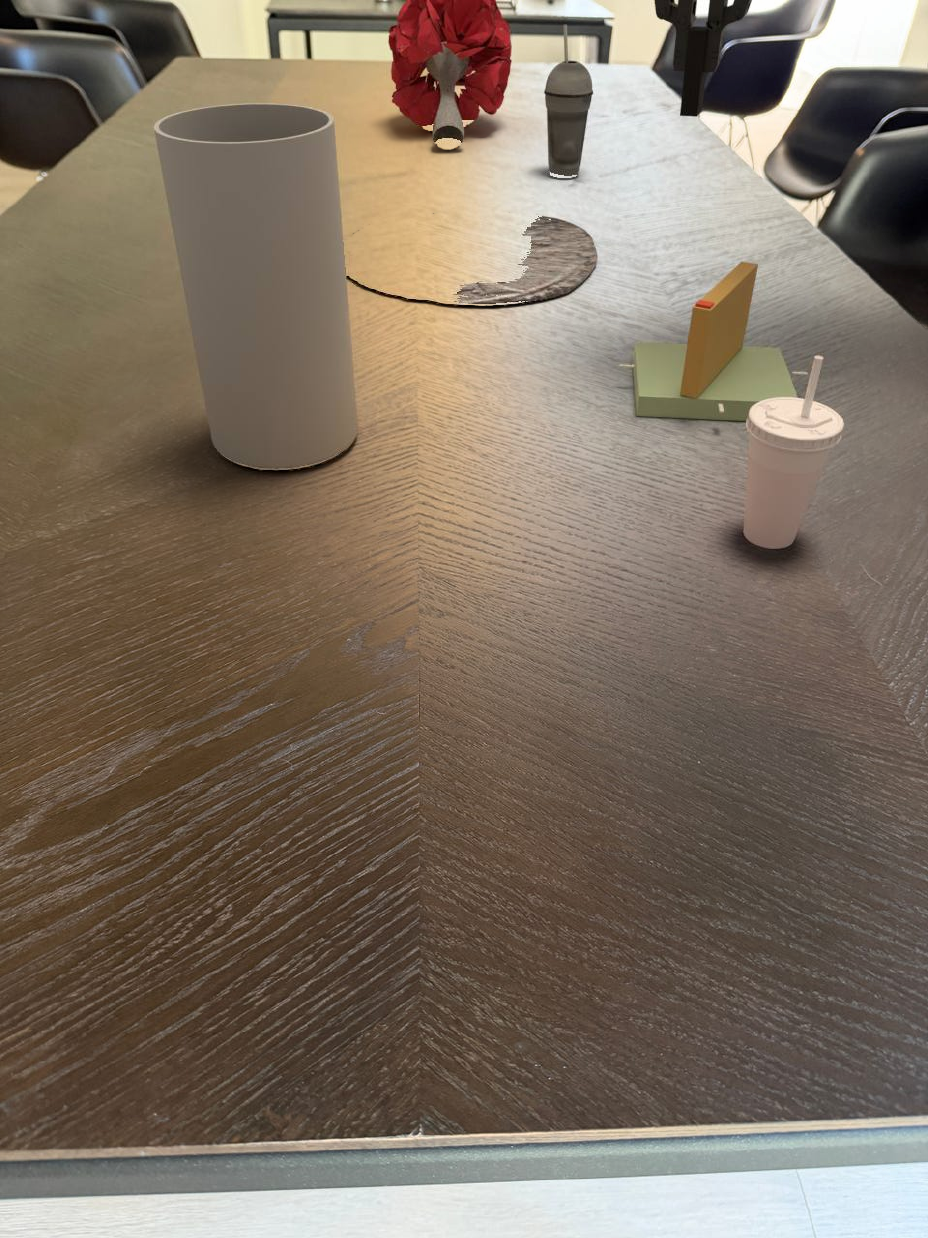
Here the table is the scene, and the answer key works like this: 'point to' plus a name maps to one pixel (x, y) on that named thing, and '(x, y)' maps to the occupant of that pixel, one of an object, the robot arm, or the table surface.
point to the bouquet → (449, 62)
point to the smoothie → (786, 462)
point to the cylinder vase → (263, 277)
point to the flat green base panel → (724, 397)
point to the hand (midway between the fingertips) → (690, 112)
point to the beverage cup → (567, 114)
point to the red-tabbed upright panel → (717, 329)
